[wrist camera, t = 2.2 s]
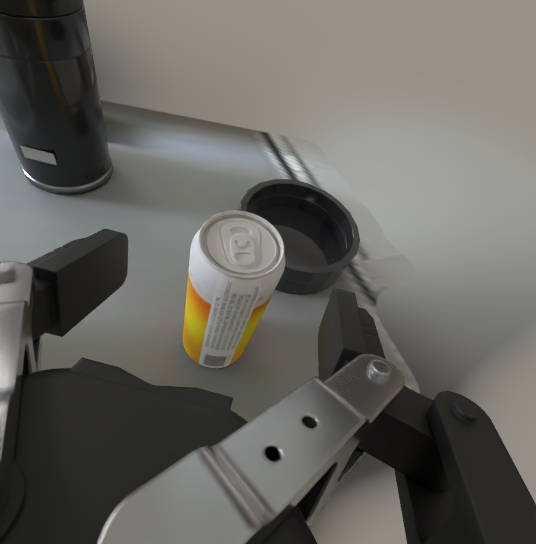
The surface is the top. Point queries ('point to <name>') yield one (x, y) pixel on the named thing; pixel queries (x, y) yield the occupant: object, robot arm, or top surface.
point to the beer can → (229, 285)
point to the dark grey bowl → (306, 232)
